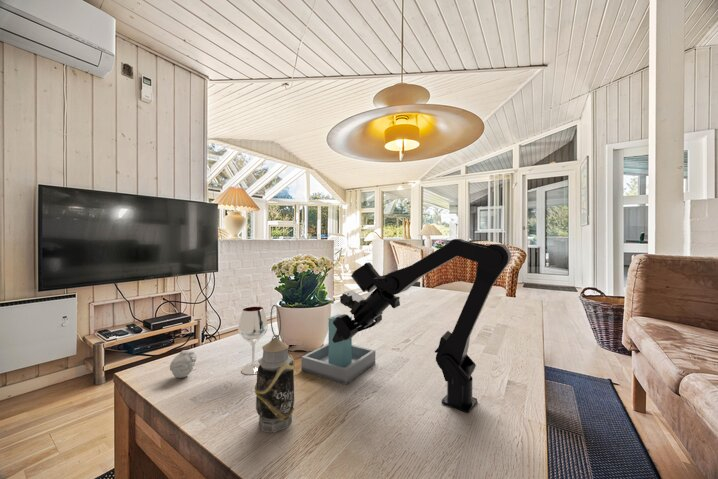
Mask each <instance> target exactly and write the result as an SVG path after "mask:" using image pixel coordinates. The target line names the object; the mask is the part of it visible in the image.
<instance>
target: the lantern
mask: <svg viewBox="0 0 718 479" xmlns="http://www.w3.org/2000/svg"><path fill="white" fill-rule="evenodd" d="M274 307H275V308H276V309H277V310H276V311H277V312H278V318H279V331H278V334H275V331H274V328H273V318H272V317H273V316H272V315H273V309H274ZM270 327H271V332H272V334H273V336H272V337H271V340H270V341H269V342H268V343H266V344H264V345H262V347H261V349H262V350H263V352H262V356H261V358H259V359H258V361H257V362H258V364H260V366H259V367H258V370H257V374H256V383H255V386H254V393H255V397H256V398H255V399H256V400H255V409H256V412H257V414H258V416H259V417H258V424H259V426H260V428H261V431H262V432H266V433H272V432H273V433H276V432H278V430H279V431H282V430H285V429H287V428H288V427H289V426H290V425H291V422H292V421H293V419H292V418H293V416H292V415H293V412H294V410H295V407H294V406H295V379H294V378H295V375H294V374H295V373H294V372H295V371H294V369H295V366H296V363H295V361H296V360H295V359H294V357H293V356H292V354H289V351H288V349H289V348H290V346H288V344H286V343H284V342H282V341H283V340H281V339H280V336H281V331H282V318H281V313H280V310H279V307H278V305H276V304H273V305H272V307H271V309H270Z"/></svg>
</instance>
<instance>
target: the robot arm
mask: <svg viewBox="0 0 718 479" xmlns="http://www.w3.org/2000/svg"><path fill="white" fill-rule="evenodd" d="M457 257H460V258H463V259H465V260H469V261H472V262H476V263H477V265H476V270H475V271H476V274H475V279H474V283H473V284H472V286H471V289H470V292H469V294H468V296H467V298H466V300H465V302H464V305H463V308H462V310H461V312H460V314H459V317H458V319H457V321H456V323H455V325H454V328H453V331H452V332H450V330H447V331H446V332H445V333H444V334H443V335H442V336H441V337H440V339H439V343H438V347H437V348H436V349H435V351H434V353H435V354H436V355H435V362H436V364H437V365H438V368H440V369H441V372H442V375H443V378H444V381H445V382H446V385H447V386H446V395H445V396H444V397H443V398H442V399H441V403H442V404H443V405H446V406H448V407H452V408H454V409H456V410H460V411H462V412H465V413H470V412H471V410H472V409H473V408H474V407H475V405H476V404H477V403H478V398H476V397H474V396H473V380H474V379H473V376H472V375H473V373H474V371H475V369H476V367H477V365H476V363H475V361H473V359H472V358H471V357H470V356H469V355H468V350H469V345H470V340H471V339H470V337H471V336H472V335H471V334H472V333H473V331H474V329H475V328H474V327H475V326H476V323H477V322H478V319H479V317H480V315H481V313H482V311H483V309H484V306H485V304H486V302H487V299H488V296H489V295H490V292H491V291H492V288H493V287H494V284H495V283H496V282H497V280H498V279H499V278H500V276H501V275H502V273H503V272H504V270H505V269H506V268H507V266H508V265H509V263H510V262H511V259H512V253H511V251H510V249H509V248H508V247H507V246H505V245H504V244H501V243H492V244H488V245H486V244H481V243H477V242H473V241H468V240H465V239H463V238H454V239H451V240H449V242H447V244H444V245H443V246H442V247H439V248H438V249H436V250H435V251H433V252H431V253H429V254H428V255H426V256H425V257H423V258H420V259H419V260H418V261H417V262H414V263H413V264H411V265H408V266H405V267H403V268H400V269H399V268H398V269H397V270H394V271H391V272H389V273H387V274H383V275H381V274H379V272H378V271H377V270H376V269H375V268H374V266H373V264H372V263H371V262H365V263H364V264H363V265H361V266H360V267H358V268H357V269H355V270H354V271H353V272H352V274H351V275H350V276H351V278H352V279H353V281H354V282H355V283H356V285H357V286H358V287H359V288H360V290H361V291H362V292H363V293H365V292H367V293H370V294H369V295H368V296H367V297H366V298H364V297H363V296H362V295H361V294H359V293H357V292H356V291H354V290H347V291H344V292H343V293H342V295H339V298H340V300H339V301H340V304H342V305H343V306H345V307H348V308H349V309H350V310H349V312H350V313H351V315H353V319H352V320H351V318H350V317H349V316H350V315H348V314H345V313H343V314H340V315H341V316H338V317H336V318H335V319H334V320H333V324H334V326H335V327H336V328H337V330H336V332H335V335H334V337H333V339H332V341H333V342H334V343H336V342H340V341H344V340H348V339H350V338H354V336H356V334H358V333H359V332H361V331H365V330H367V329H368V330H369V329H370V328H373V327H374V326H376V325H379V323H381V321H382V320H383V314H384V311H385V310H386V309H387V308H388V307H389V306H390V307H391V308H392V309H397V308H398V307H400V306H401V301H400V298H401V297H400V296H397V295H398V294H401V293H404V292H406V291H408V290H409V289H410V288H412V287H413V286H414V285H415V284H416V283H417V282H418V281H419V280H420V279H421V278H422V277H423V276H425V275H428V274H429V273H431V272H432V271H434V270H436V269H439V267H441V266H443V265H445V264H447V263H449V262H450V261H452V260H454V259H456V258H457Z"/></svg>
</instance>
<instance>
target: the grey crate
mask: <svg viewBox="0 0 718 479" xmlns="http://www.w3.org/2000/svg"><path fill="white" fill-rule="evenodd" d="M328 355H329V342H328V343H326V344H325V345H322V346H320V347H319V348H316V349H314V350H312V351H310V352H308V353H306V354H304V355H302V356H301V365H300V367H301V371H302V372H305V373H307V374H311V375H315V376H317V377H321V378H324V379H327V380H329V381H331V382H336V383H338V384H341V385H344V386H347V385H349V384H350V383H351V382H353V381H354V380H355V379H356V378H358V377H359V376H360V375H362V374H363V373H365V372H366V371H367V370H368V369H370V368H371V367H373V365H375V364H376V350H375V349H371V348H367V347H362V346H359V345H354V344H352V362H351V363H350V364H348V365H347V366H345V367H340V366H337V365H334V364H330V363H328Z"/></svg>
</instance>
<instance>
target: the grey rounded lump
mask: <svg viewBox="0 0 718 479" xmlns="http://www.w3.org/2000/svg"><path fill="white" fill-rule="evenodd" d="M196 361H197V353H196V352H195V351H192V350H189V349H188V350H187V349H185V350H184V349H183V350H181V351H180V353H178V354H177V355H176V356H174V358H173V360H172V361H171V362H170V365H169V370H170V372H171V373H172V375H173V376H174V377H175V378H177V379H183V378H185V377H187V376H188V375H190V374H191V372H192V371H193V369H194V368H193V367H194V366H195V364H196Z"/></svg>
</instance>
